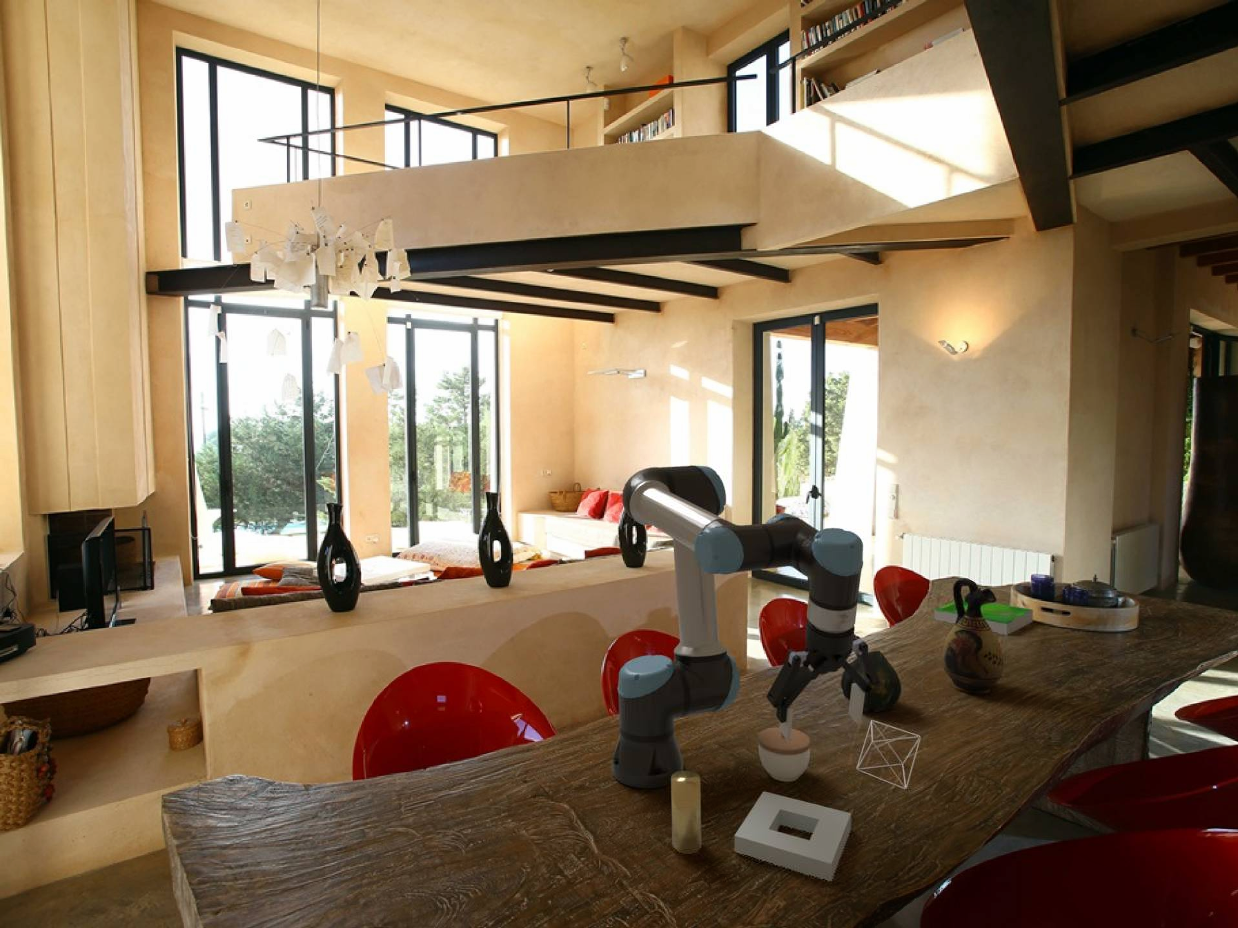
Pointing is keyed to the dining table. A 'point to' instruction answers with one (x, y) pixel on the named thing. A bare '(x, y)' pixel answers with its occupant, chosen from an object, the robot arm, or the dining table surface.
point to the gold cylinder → (686, 811)
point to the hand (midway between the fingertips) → (820, 726)
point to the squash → (883, 693)
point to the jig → (792, 851)
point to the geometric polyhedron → (893, 751)
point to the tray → (991, 616)
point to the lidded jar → (784, 753)
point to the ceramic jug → (972, 643)
